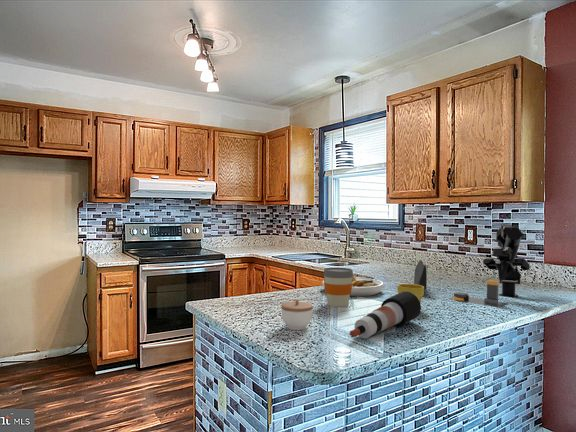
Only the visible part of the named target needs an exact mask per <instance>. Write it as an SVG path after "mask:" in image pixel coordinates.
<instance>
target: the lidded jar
mask: <svg viewBox="0 0 576 432" xmlns="http://www.w3.org/2000/svg"><path fill="white" fill-rule="evenodd" d="M280 307H281V318H282V321H283V322H284V325H285V326H286V327H287V328H288V330H293V331H302V330H305V329H306V328H307V327H308V326H309V325H310V323H311V321H312V317H313V309H314V305H313V303H310V302H306V301H299V299H295V301H287V302H283V303H282V304H281V306H280Z"/></svg>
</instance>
